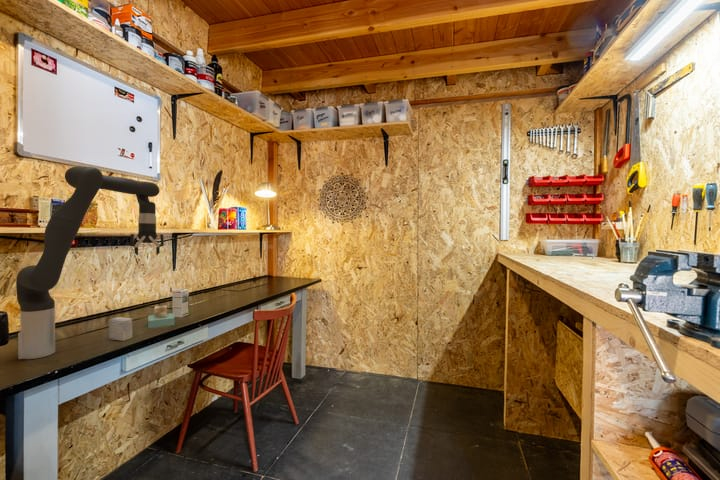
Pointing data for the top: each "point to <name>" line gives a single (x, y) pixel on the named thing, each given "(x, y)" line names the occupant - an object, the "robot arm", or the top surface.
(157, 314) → the birch cube
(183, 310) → the syrup box
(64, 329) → the top surface
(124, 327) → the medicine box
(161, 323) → the teal block
